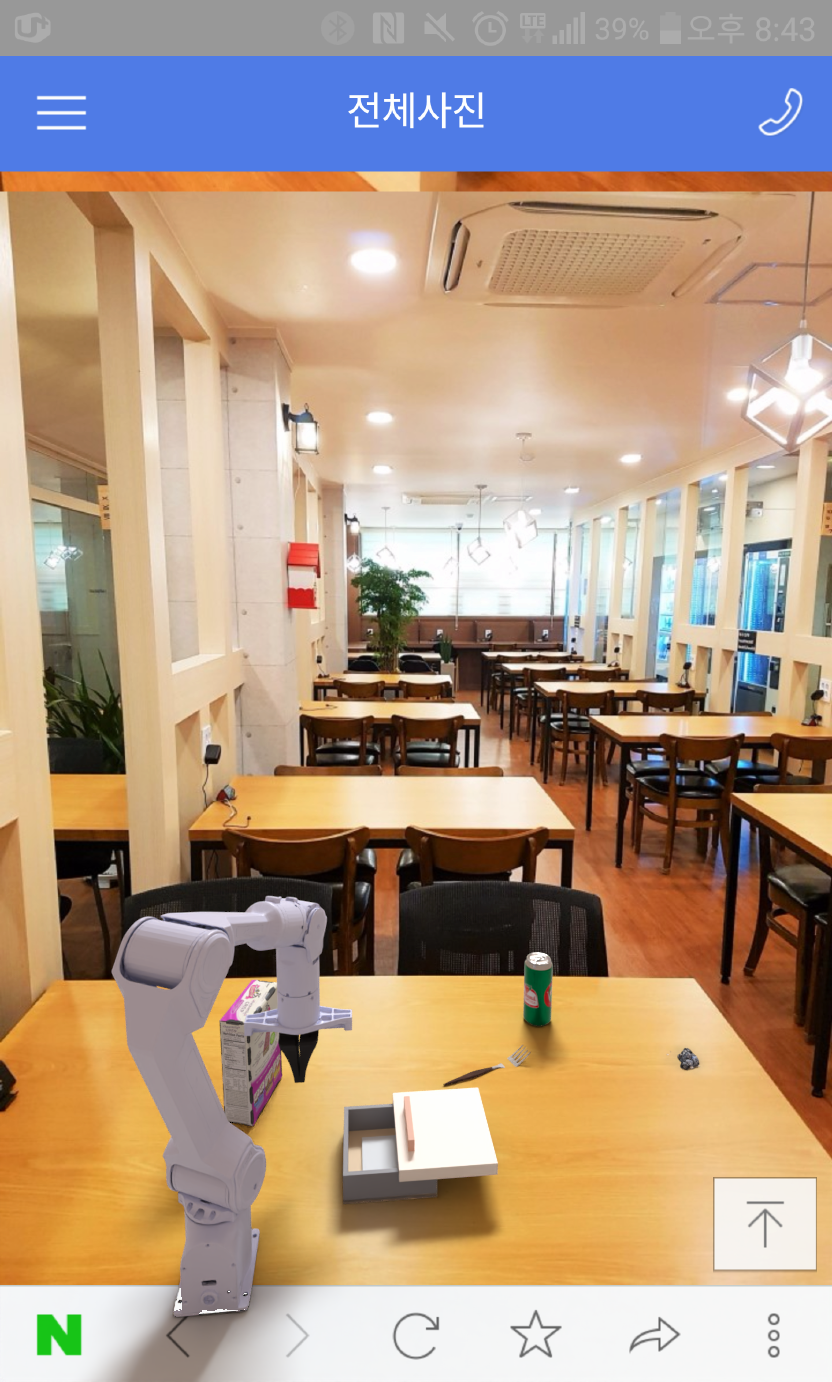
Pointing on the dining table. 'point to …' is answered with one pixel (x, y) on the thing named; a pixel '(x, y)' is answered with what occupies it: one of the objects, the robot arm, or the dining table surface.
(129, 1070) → the dining table surface
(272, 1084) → the candy bar box
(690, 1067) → the blueberries
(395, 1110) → the lid
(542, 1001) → the soda can
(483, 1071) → the fork
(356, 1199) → the mailer tray
